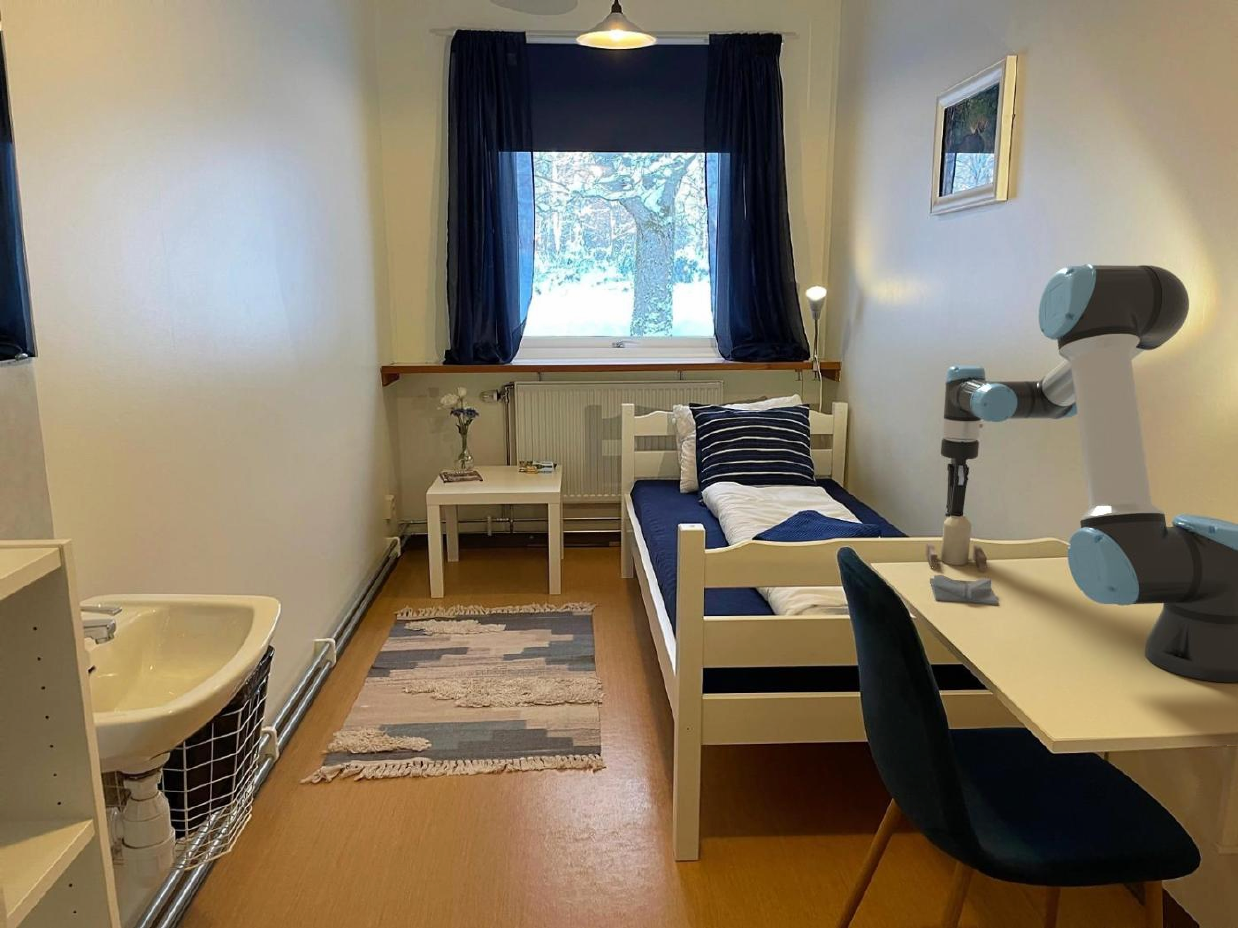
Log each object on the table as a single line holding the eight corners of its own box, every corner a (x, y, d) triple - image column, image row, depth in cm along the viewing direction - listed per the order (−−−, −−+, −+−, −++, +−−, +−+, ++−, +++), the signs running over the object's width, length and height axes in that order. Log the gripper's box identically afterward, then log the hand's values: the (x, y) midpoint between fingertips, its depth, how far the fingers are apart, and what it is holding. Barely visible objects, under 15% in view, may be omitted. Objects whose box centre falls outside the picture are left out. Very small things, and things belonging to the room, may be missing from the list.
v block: (997, 604, 175) (998, 590, 174) (935, 600, 177) (936, 586, 176) (988, 586, 185) (989, 572, 185) (929, 582, 187) (930, 568, 187)
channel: (985, 571, 194) (986, 557, 193) (930, 568, 196) (931, 554, 196) (978, 558, 204) (979, 544, 203) (925, 554, 206) (926, 541, 205)
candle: (964, 555, 203) (968, 512, 200) (970, 566, 198) (975, 521, 195) (937, 555, 204) (941, 512, 201) (944, 565, 198) (948, 521, 196)
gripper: (983, 445, 193) (974, 554, 198) (974, 433, 206) (965, 537, 211) (945, 443, 195) (936, 552, 200) (938, 432, 207) (930, 535, 212)
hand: (951, 544), depth 205 cm, fingers closed
